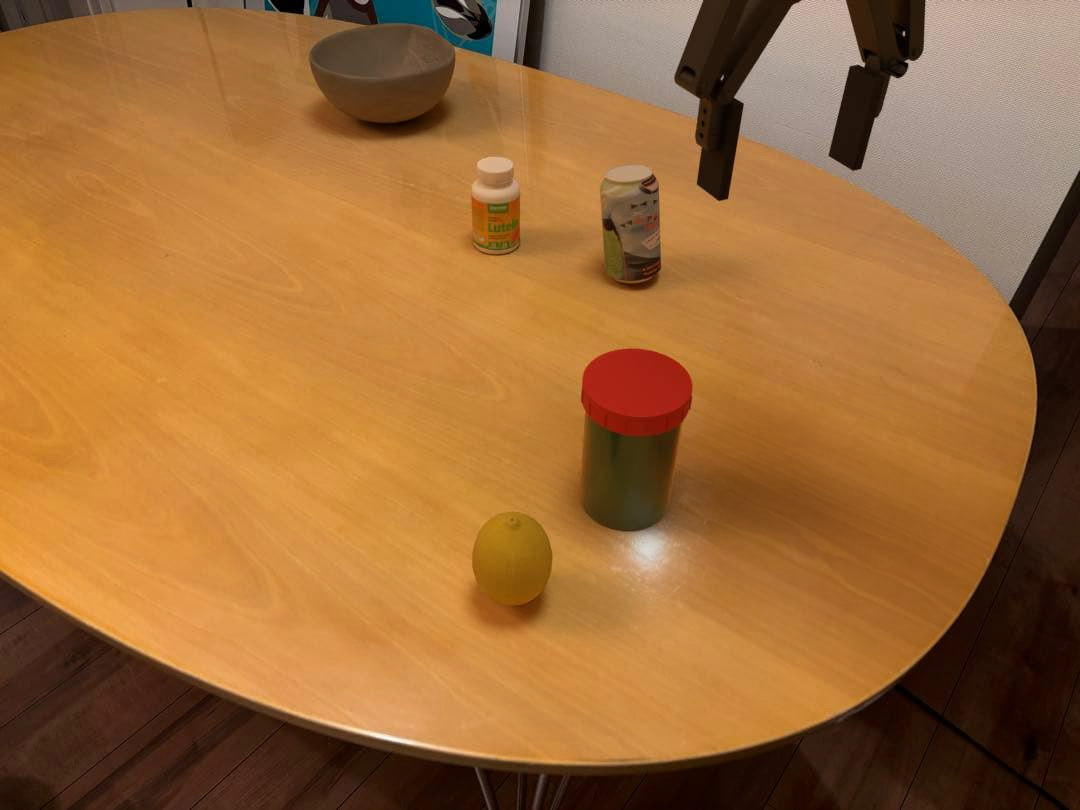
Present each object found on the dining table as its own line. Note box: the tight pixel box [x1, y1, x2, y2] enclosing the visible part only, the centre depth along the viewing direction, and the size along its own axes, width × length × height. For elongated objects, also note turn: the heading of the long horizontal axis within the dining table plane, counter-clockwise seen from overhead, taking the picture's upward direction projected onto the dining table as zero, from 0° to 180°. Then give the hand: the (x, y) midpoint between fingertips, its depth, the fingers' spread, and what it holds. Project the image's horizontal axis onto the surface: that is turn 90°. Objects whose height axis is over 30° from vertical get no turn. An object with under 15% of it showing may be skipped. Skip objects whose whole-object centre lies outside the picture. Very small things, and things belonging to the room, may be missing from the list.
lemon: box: [471, 511, 553, 606], centre depth 61 cm, size 6×6×8 cm
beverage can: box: [599, 163, 662, 284], centre depth 93 cm, size 6×7×12 cm
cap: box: [580, 347, 693, 436], centre depth 64 cm, size 8×8×2 cm
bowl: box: [308, 22, 457, 124], centre depth 126 cm, size 20×20×10 cm
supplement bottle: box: [470, 156, 521, 255], centre depth 98 cm, size 5×5×10 cm
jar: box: [579, 410, 683, 532], centre depth 67 cm, size 7×7×12 cm
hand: (780, 176), depth 62 cm, fingers open, 11 cm apart
